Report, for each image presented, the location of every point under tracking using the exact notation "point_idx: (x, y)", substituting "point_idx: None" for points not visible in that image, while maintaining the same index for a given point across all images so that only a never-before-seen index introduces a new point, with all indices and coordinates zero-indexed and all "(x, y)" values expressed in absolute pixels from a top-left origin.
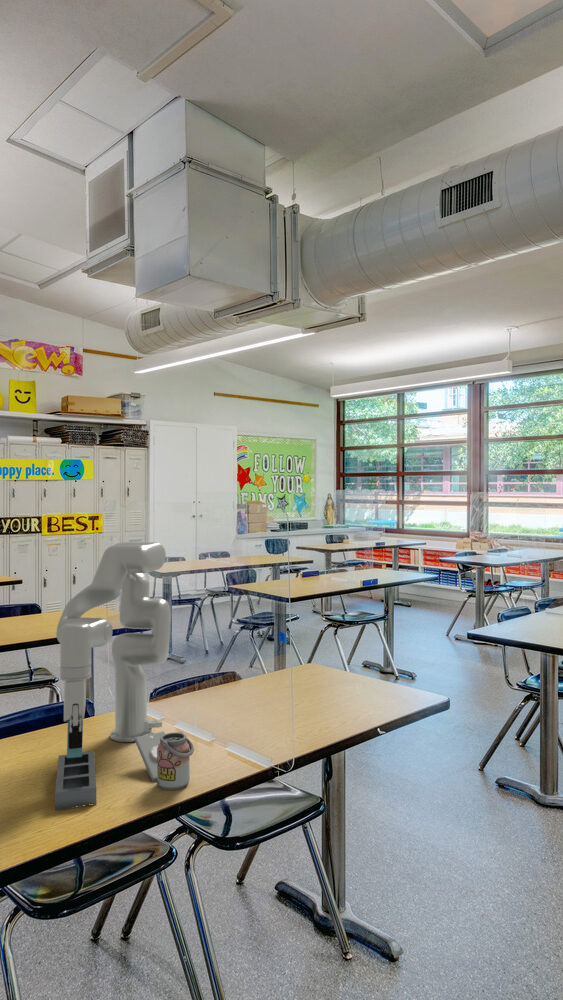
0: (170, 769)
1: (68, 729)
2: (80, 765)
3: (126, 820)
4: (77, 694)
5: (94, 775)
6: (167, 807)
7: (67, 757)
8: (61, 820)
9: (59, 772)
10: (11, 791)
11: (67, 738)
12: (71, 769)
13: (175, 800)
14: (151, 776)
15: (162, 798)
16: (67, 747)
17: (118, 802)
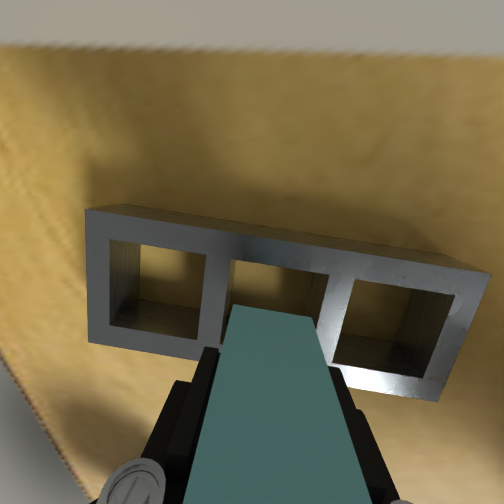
0: None
1: (186, 489)
2: (316, 332)
3: (10, 355)
4: None
5: (193, 356)
6: (51, 441)
7: (232, 308)
8: (52, 212)
9: (285, 250)
10: (350, 65)
11: (213, 389)
12: (321, 296)
13: (81, 463)
14: None
15: (100, 446)
16: (224, 341)
17: (114, 362)
